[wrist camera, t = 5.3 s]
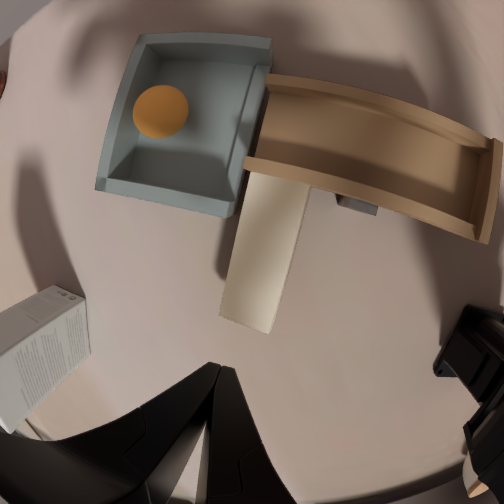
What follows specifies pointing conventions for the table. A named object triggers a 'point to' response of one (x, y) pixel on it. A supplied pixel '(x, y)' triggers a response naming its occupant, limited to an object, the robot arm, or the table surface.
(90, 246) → the table surface
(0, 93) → the supplement bottle
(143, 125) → the ball
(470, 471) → the lidded jar
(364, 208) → the fulcrum
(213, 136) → the tray
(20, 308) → the skincare box
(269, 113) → the lever
